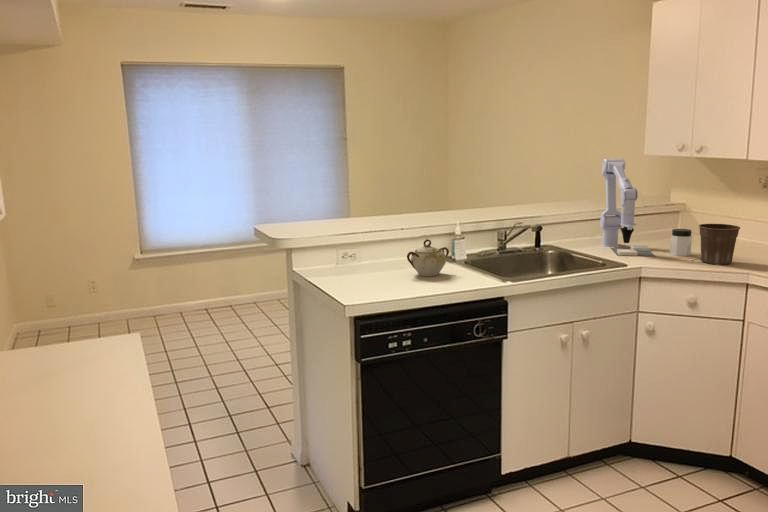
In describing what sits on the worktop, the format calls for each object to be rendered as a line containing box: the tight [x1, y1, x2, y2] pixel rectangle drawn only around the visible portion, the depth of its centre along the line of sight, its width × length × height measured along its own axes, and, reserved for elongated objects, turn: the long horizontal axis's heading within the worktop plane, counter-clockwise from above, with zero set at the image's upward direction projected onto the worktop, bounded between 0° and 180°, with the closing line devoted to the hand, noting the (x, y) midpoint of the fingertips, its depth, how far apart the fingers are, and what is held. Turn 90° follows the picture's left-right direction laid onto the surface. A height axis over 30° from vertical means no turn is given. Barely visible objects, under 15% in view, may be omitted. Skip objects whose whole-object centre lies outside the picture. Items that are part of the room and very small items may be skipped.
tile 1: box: [617, 249, 639, 257], centre depth 301 cm, size 2×8×7 cm
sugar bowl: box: [406, 238, 450, 277], centre depth 267 cm, size 20×15×15 cm
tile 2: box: [629, 245, 651, 252], centre depth 311 cm, size 7×8×2 cm
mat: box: [610, 247, 657, 258], centre depth 306 cm, size 22×17×1 cm
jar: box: [669, 228, 693, 257], centre depth 298 cm, size 9×8×12 cm
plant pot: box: [698, 223, 741, 265], centre depth 280 cm, size 16×16×16 cm
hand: (626, 242), depth 303 cm, fingers closed
